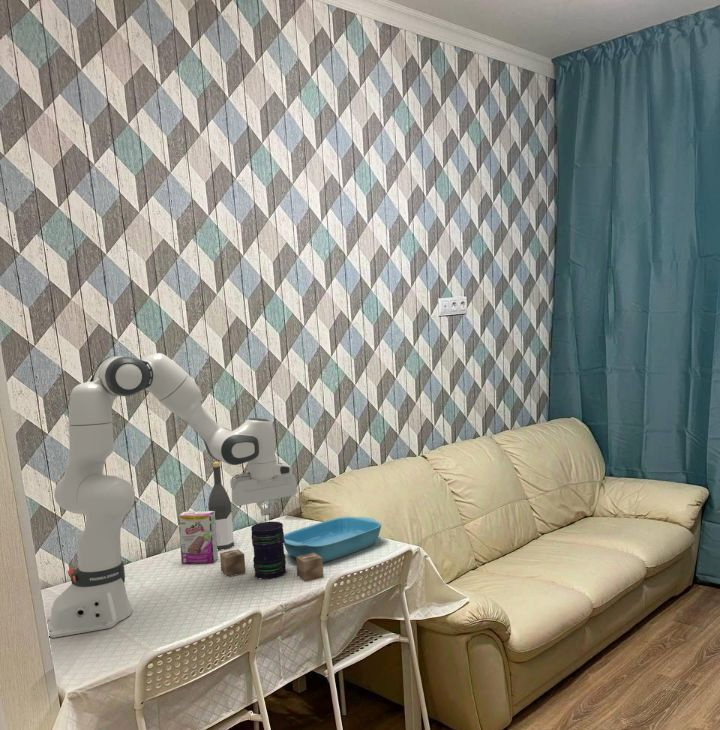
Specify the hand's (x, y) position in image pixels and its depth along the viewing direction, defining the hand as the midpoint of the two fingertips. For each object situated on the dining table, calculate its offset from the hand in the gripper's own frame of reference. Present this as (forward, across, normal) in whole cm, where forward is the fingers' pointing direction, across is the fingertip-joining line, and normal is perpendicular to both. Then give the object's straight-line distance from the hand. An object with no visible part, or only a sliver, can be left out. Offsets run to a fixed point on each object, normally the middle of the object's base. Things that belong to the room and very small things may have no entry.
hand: (266, 514), depth 215 cm
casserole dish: (+19, +26, +9) cm, 33 cm away
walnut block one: (+19, +9, -10) cm, 23 cm away
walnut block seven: (+18, -9, +9) cm, 22 cm away
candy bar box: (+19, -15, +26) cm, 35 cm away
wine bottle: (+19, -4, +37) cm, 42 cm away
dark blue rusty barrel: (+19, 0, 0) cm, 19 cm away
